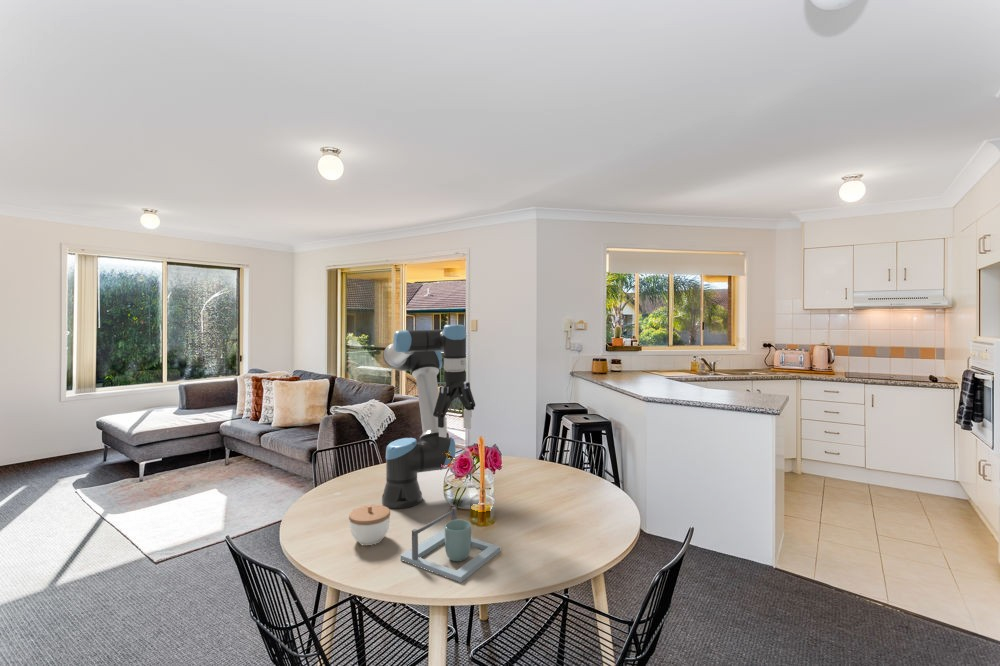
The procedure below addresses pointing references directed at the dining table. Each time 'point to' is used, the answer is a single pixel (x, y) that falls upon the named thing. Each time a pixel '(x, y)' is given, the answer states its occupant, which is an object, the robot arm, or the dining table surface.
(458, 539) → the cup
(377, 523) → the lidded bowl
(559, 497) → the dining table surface
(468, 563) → the towel rail frame
